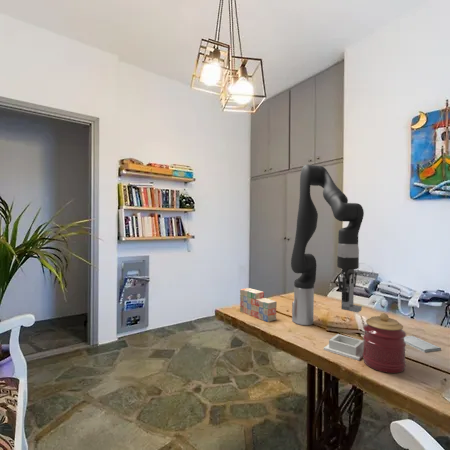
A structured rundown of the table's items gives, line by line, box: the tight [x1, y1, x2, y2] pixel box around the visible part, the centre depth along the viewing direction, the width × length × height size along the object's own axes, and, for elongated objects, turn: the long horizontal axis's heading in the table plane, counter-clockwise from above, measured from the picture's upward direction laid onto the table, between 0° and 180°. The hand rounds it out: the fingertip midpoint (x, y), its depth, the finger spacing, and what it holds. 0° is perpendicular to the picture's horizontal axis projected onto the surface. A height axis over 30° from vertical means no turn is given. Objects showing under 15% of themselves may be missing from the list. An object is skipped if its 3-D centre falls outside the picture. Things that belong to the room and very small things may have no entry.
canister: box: [362, 312, 407, 374], centre depth 102 cm, size 13×13×18 cm
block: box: [341, 282, 362, 314], centre depth 112 cm, size 6×4×10 cm, turn 48°
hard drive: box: [404, 335, 442, 353], centre depth 119 cm, size 2×8×12 cm
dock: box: [323, 333, 364, 361], centre depth 114 cm, size 13×11×4 cm
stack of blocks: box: [239, 287, 277, 323], centre depth 155 cm, size 21×6×12 cm, turn 36°
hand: (347, 300), depth 113 cm, fingers closed on block, 4 cm apart
